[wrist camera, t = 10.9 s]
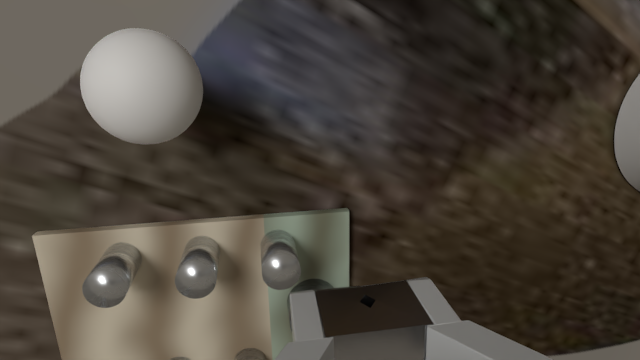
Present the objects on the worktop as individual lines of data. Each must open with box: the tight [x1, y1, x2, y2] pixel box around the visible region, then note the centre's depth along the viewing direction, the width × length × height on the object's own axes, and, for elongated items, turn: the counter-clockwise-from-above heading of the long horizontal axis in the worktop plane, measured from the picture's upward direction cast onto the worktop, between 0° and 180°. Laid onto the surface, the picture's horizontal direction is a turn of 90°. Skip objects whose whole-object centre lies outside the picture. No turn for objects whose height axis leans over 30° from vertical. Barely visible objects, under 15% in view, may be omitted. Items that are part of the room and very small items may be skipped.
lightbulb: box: [80, 28, 203, 144], centre depth 25 cm, size 6×6×11 cm
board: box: [32, 208, 349, 360], centre depth 36 cm, size 24×16×1 cm, turn 91°
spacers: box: [82, 230, 301, 360], centre depth 33 cm, size 18×14×4 cm
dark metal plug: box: [287, 279, 334, 332], centre depth 36 cm, size 4×4×3 cm
